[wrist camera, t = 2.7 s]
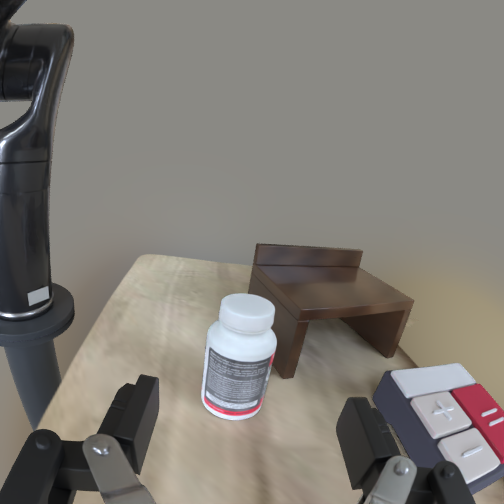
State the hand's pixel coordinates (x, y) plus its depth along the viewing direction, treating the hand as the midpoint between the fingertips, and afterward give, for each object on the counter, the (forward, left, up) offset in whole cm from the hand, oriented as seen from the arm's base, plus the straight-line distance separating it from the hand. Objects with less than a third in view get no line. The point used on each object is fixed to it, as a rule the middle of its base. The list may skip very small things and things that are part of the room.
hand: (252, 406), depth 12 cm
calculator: (+21, -1, -11) cm, 23 cm away
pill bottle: (+4, +11, -11) cm, 15 cm away
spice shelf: (+18, +19, -10) cm, 28 cm away
